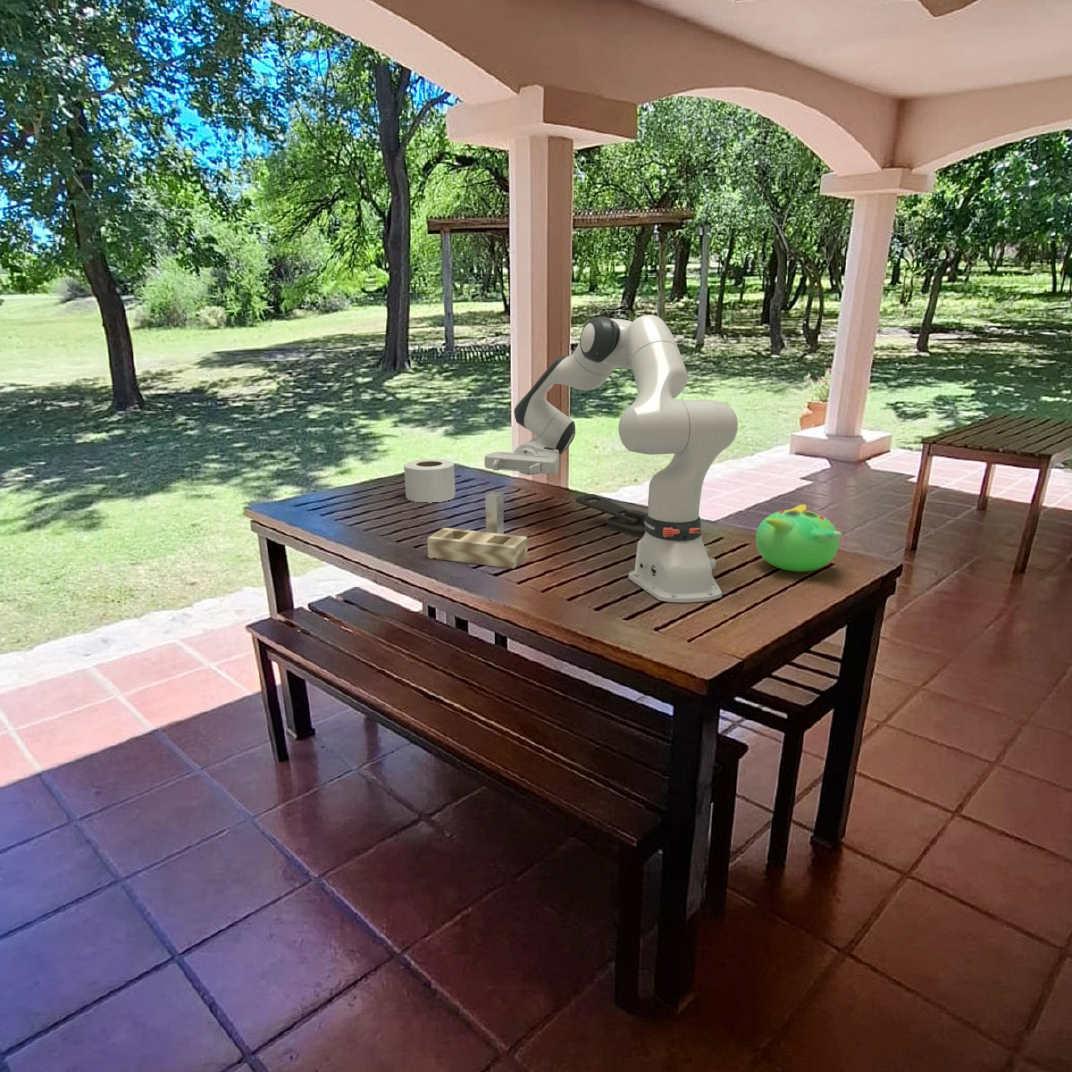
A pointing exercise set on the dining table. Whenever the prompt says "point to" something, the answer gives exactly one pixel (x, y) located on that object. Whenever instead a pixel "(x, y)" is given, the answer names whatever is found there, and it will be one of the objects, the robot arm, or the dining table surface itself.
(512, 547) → the hollow cinder block
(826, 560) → the toy bird
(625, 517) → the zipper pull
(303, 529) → the dining table surface
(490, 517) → the grey square pillar
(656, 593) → the robot arm
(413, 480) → the toilet paper roll
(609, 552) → the dining table surface
